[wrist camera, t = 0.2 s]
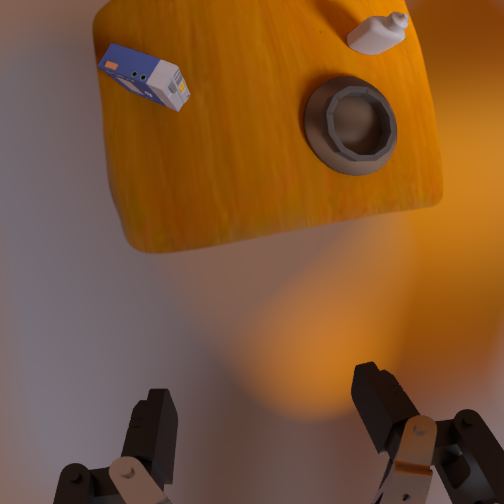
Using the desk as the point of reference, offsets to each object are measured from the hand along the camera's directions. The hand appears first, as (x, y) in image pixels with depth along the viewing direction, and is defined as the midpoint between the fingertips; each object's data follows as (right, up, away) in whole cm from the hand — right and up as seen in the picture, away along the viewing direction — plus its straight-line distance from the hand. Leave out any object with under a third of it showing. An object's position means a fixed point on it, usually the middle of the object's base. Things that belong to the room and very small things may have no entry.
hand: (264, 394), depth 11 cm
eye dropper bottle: (+16, +36, +22) cm, 45 cm away
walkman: (-12, +26, +21) cm, 36 cm away
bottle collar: (+13, +23, +25) cm, 36 cm away
